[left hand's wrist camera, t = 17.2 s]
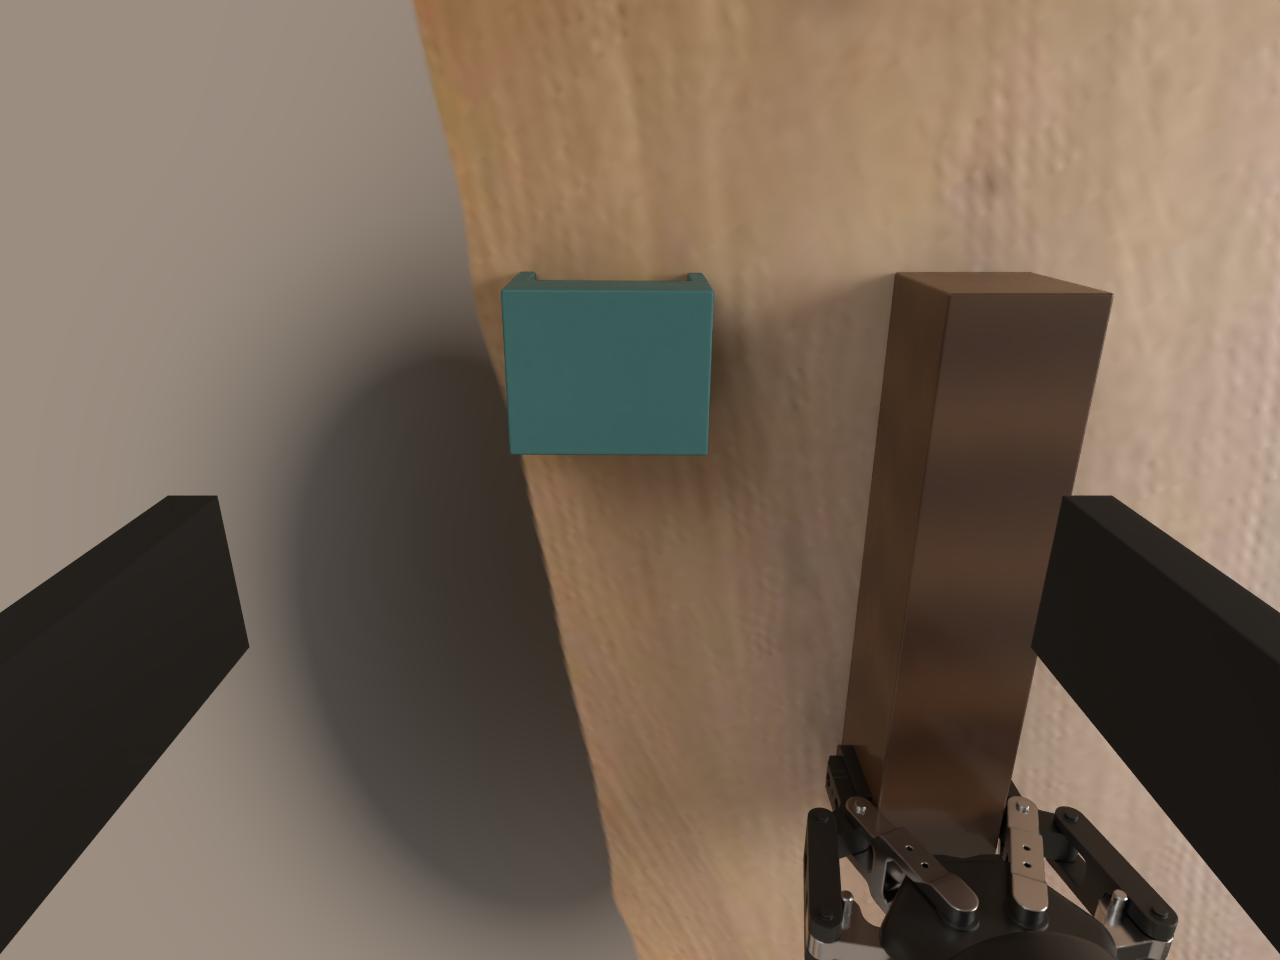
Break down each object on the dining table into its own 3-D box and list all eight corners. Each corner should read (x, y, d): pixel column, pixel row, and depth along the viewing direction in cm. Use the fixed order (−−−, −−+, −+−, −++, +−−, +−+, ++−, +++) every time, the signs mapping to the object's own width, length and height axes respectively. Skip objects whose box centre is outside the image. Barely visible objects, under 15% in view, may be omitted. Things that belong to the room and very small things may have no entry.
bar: (894, 272, 32) (949, 293, 26) (1031, 271, 32) (1115, 293, 26) (836, 786, 41) (868, 882, 36) (942, 785, 41) (990, 882, 36)
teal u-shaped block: (520, 271, 32) (500, 289, 27) (702, 272, 32) (714, 290, 27) (526, 415, 34) (509, 455, 29) (697, 416, 34) (707, 456, 29)
